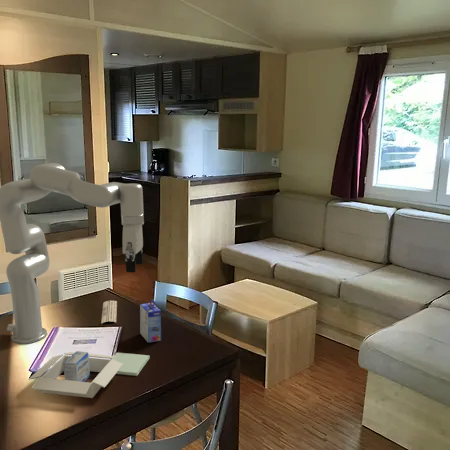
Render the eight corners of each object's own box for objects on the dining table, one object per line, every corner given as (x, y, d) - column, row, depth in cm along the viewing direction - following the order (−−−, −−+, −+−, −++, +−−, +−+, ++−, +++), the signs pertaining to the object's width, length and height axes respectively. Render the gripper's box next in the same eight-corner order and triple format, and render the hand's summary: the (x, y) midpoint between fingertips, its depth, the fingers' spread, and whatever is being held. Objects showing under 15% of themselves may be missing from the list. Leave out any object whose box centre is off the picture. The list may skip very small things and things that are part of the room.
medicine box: (78, 389, 146) (76, 363, 144) (65, 388, 147) (62, 362, 145) (90, 376, 153) (88, 351, 152) (77, 375, 154) (75, 350, 152)
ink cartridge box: (162, 340, 178) (161, 304, 175) (148, 343, 176) (146, 307, 173) (153, 330, 187) (152, 296, 184) (140, 333, 185) (138, 298, 182)
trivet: (102, 372, 156) (102, 369, 156) (117, 355, 167) (116, 352, 167) (137, 375, 154) (137, 372, 154) (149, 358, 165) (149, 355, 165)
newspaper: (116, 324, 194) (116, 320, 194) (98, 326, 193) (98, 322, 193) (117, 303, 217) (116, 300, 217) (101, 305, 216) (100, 301, 215)
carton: (20, 398, 141) (19, 382, 140) (60, 361, 163) (59, 347, 162) (99, 407, 137) (98, 390, 136) (128, 367, 159) (128, 353, 158)
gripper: (128, 215, 171) (131, 260, 175) (114, 225, 154) (116, 275, 158) (149, 215, 171) (151, 261, 174) (136, 225, 154) (139, 275, 157)
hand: (134, 267), depth 166 cm, fingers open, 9 cm apart
